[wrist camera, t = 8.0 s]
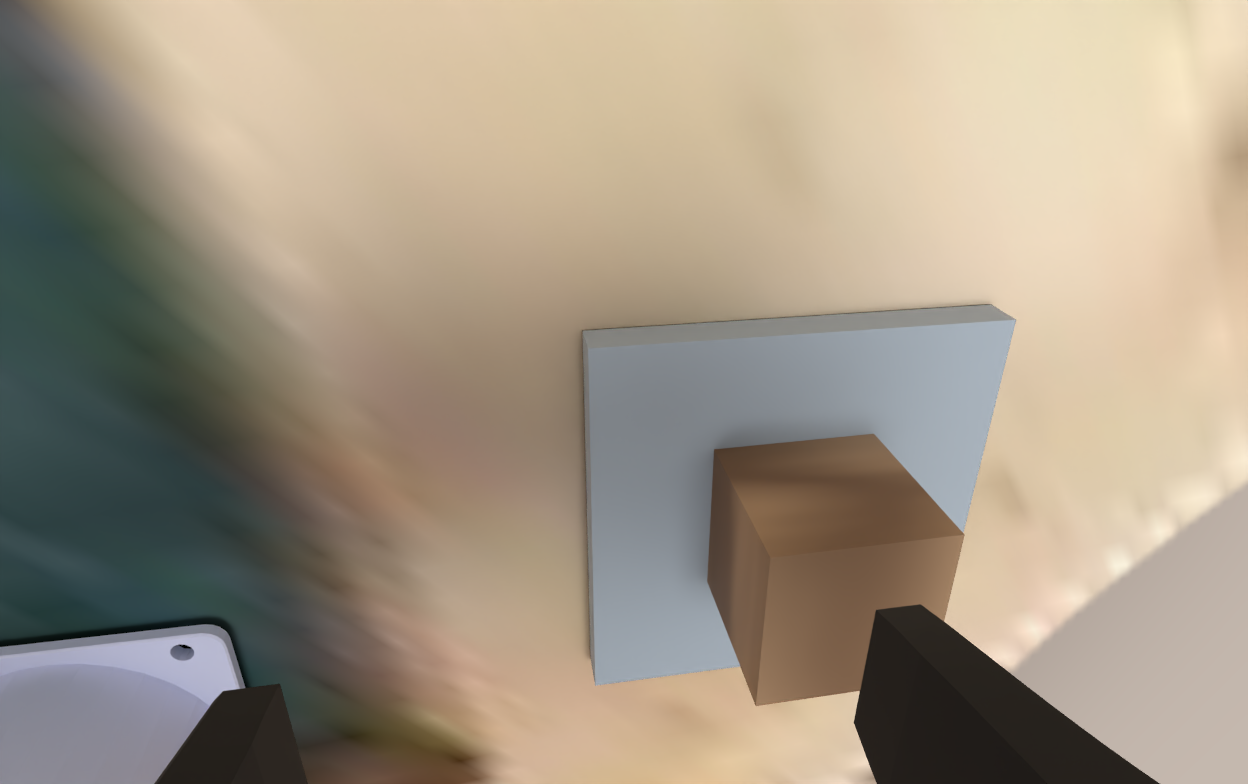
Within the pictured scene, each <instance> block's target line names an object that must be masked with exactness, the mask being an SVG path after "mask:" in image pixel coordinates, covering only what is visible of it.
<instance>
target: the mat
mask: <svg viewBox="0 0 1248 784" xmlns="http://www.w3.org/2000/svg"><path fill="white" fill-rule="evenodd" d="M1015 322H1016V319H1014V318H1012V317H1011V316H1009V315H1007V314H1006V313H1004V312H1003V311H1001V310H999V309H998V308H996V307H994V306H993V305H976V306H960V307H944V308H929V309H913V310H897V311H882V312H866V313H850V314H835V315H819V316H803V317H788V318H772V319H756V320H741V321H725V322H709V323H694V324H678V325H662V326H647V327H631V328H615V329H599V330H584V331H583V370H584V411H585V452H586V493H587V533H588V574H589V615H590V656H591V663H592V669H593V675H594V681H595V685H603V684H611V683H618V682H626V681H633V680H641V679H648V678H656V677H663V676H671V675H679V674H686V673H694V672H701V671H709V670H716V669H724V668H732V667H739V666H740V664H739V662H738V659H737V656H736V654H735V651H734V649H733V646H732V644H731V641H730V639H729V636H728V634H727V631H726V628H725V626H724V623H723V621H722V618H721V616H720V613H719V611H718V608H717V605H716V603H715V600H714V598H713V595H712V593H711V590H710V588H709V585H708V582H707V576H708V556H709V537H710V517H711V498H712V479H713V459H714V449H723V448H733V447H744V446H754V445H764V444H774V443H784V442H795V441H805V440H815V439H825V438H835V437H846V436H856V435H866V434H875V435H876V436H877V438H878V439H879V440H880V441H881V442H882V443H883V444H884V445H885V447H886V448H887V449H888V450H889V451H890V452H891V453H892V454H893V455H894V457H895V458H896V459H897V460H898V461H899V462H900V463H901V464H902V465H903V467H904V468H905V469H906V470H907V471H908V472H909V473H910V474H911V475H912V477H913V478H914V479H915V480H916V481H917V482H918V483H919V484H920V486H921V487H922V488H923V489H924V490H925V491H926V492H927V493H928V494H929V496H930V497H931V498H932V499H933V500H934V501H935V502H936V503H937V504H938V506H939V507H940V508H941V509H942V510H943V511H944V512H945V513H946V514H947V516H948V517H949V518H950V519H951V520H952V521H953V522H954V523H955V525H956V526H957V527H958V528H959V529H960V530H961V531H962V532H964V528H965V524H966V520H967V516H968V512H969V508H970V504H971V500H972V496H973V492H974V487H975V483H976V479H977V475H978V471H979V467H980V463H981V459H982V455H983V451H984V447H985V443H986V439H987V435H988V431H989V427H990V423H991V419H992V415H993V411H994V407H995V403H996V399H997V395H998V391H999V387H1000V383H1001V379H1002V374H1003V370H1004V366H1005V362H1006V358H1007V354H1008V350H1009V346H1010V342H1011V338H1012V334H1013V330H1014V326H1015Z"/></svg>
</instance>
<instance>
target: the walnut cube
mask: <svg viewBox="0 0 1248 784" xmlns="http://www.w3.org/2000/svg"><path fill="white" fill-rule="evenodd" d="M963 539H964V533H963V532H962V531H961V530H960V529H959V528H958V527H957V526H956V525H955V523H954V522H953V521H952V520H951V519H950V518H949V517H948V516H947V514H946V513H945V512H944V511H943V510H942V509H941V508H940V507H939V506H938V504H937V503H936V502H935V501H934V500H933V499H932V498H931V497H930V496H929V494H928V493H927V492H926V491H925V490H924V489H923V488H922V487H921V486H920V484H919V483H918V482H917V481H916V480H915V479H914V478H913V477H912V475H911V474H910V473H909V472H908V471H907V470H906V469H905V468H904V467H903V465H902V464H901V463H900V462H899V461H898V460H897V459H896V458H895V457H894V455H893V454H892V453H891V452H890V451H889V450H888V449H887V448H886V447H885V445H884V444H883V443H882V442H881V441H880V440H879V439H878V438H877V436H876V435H875V434H866V435H856V436H846V437H835V438H825V439H815V440H805V441H795V442H784V443H774V444H764V445H754V446H744V447H733V448H723V449H714V459H713V479H712V498H711V517H710V537H709V556H708V576H707V582H708V585H709V588H710V590H711V593H712V595H713V598H714V600H715V603H716V605H717V608H718V611H719V613H720V616H721V618H722V621H723V623H724V626H725V628H726V631H727V634H728V636H729V639H730V641H731V644H732V646H733V649H734V651H735V654H736V656H737V659H738V662H739V664H740V667H741V669H742V672H743V674H744V677H745V679H746V682H747V685H748V687H749V690H750V692H751V695H752V697H753V700H754V702H755V705H756V706H759V705H766V704H773V703H780V702H786V701H793V700H800V699H807V698H813V697H820V696H827V695H834V694H840V693H847V692H854V691H860V689H861V684H862V679H863V673H864V668H865V663H866V658H867V653H868V648H869V643H870V638H871V633H872V627H873V622H874V617H875V612H876V610H878V609H886V608H894V607H902V606H911V605H919V604H921V605H922V606H924V607H925V608H926V609H928V610H929V611H930V612H932V613H933V614H934V615H936V616H937V617H938V618H940V619H941V620H942V621H944V619H945V615H946V611H947V606H948V602H949V598H950V594H951V590H952V585H953V581H954V577H955V573H956V568H957V564H958V560H959V556H960V552H961V547H962V543H963Z"/></svg>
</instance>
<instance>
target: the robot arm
mask: <svg viewBox="0 0 1248 784" xmlns="http://www.w3.org/2000/svg"><path fill="white" fill-rule="evenodd" d="M179 644H181V645H187V646H189V647H191V649H187V648H182V647H180V646H179ZM854 724H855V727H856V730H857V732H858V735H859V738H860V740H861V743H862V746H863V748H864V751H865V754H866V757H867V759H868V762H869V765H870V767H871V770H872V772H873V775H874V777H875V780H876V782H877V784H1159V783H1158V782H1156V781H1155V780H1154V779H1152V778H1150V777H1149V776H1148V775H1146V774H1145V773H1143V772H1142V771H1140V770H1139V769H1138V768H1136V767H1135V766H1133V765H1132V764H1131V763H1129V762H1128V761H1126V760H1125V759H1123V758H1122V757H1121V756H1119V755H1118V754H1116V753H1115V752H1114V751H1112V750H1111V749H1109V748H1108V747H1107V746H1105V745H1104V744H1103V743H1101V742H1100V741H1099V740H1097V739H1096V738H1095V737H1093V736H1092V735H1091V734H1089V733H1088V732H1086V731H1085V730H1084V729H1082V728H1081V727H1079V726H1078V725H1077V724H1075V723H1074V722H1073V721H1072V720H1070V719H1069V718H1068V717H1066V716H1065V715H1064V714H1062V713H1061V712H1060V711H1058V710H1057V709H1055V708H1054V707H1053V706H1052V705H1050V704H1049V703H1048V702H1046V701H1045V700H1044V699H1043V698H1041V697H1040V696H1039V695H1037V694H1036V693H1035V692H1033V691H1032V690H1031V689H1030V688H1028V687H1027V686H1026V685H1024V684H1023V683H1022V682H1021V681H1019V680H1018V679H1017V678H1015V677H1014V676H1013V675H1012V674H1010V673H1009V672H1008V671H1006V670H1005V669H1004V668H1003V667H1001V666H1000V665H999V664H997V663H996V662H995V661H994V660H992V659H991V658H990V657H989V656H987V655H986V654H985V653H983V652H982V651H981V650H980V649H978V648H977V647H976V646H974V645H973V644H972V643H971V642H969V641H968V640H967V639H966V638H964V637H963V636H962V635H960V634H959V633H958V632H957V631H955V630H954V629H953V628H951V627H950V626H949V625H948V624H946V623H945V622H944V621H942V620H941V619H940V618H938V617H937V616H936V615H934V614H933V613H932V612H930V611H929V610H928V609H926V608H925V607H924V606H922V605H921V604H919V605H911V606H902V607H894V608H886V609H878V610H876V612H875V617H874V622H873V627H872V633H871V638H870V643H869V648H868V653H867V658H866V663H865V668H864V673H863V679H862V684H861V689H860V694H859V699H858V704H857V709H856V714H855V719H854ZM0 784H307V780H306V776H305V773H304V769H303V766H302V762H301V758H300V755H299V751H298V748H297V744H296V740H295V737H294V733H293V730H292V726H291V722H290V719H289V715H288V712H287V708H286V704H285V701H284V697H283V694H282V690H281V686H280V684H275V685H267V686H259V687H251V688H245V685H244V681H243V678H242V675H241V671H240V668H239V665H238V662H237V658H236V655H235V652H234V649H233V645H232V642H231V639H230V636H229V635H228V633H227V632H226V631H225V630H224V629H222V628H221V627H218V626H215V625H208V624H202V625H194V626H185V627H176V628H167V629H158V630H149V631H140V632H131V633H122V634H113V635H104V636H95V637H86V638H78V639H69V640H60V641H51V642H42V643H33V644H24V645H15V646H6V647H0Z"/></svg>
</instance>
